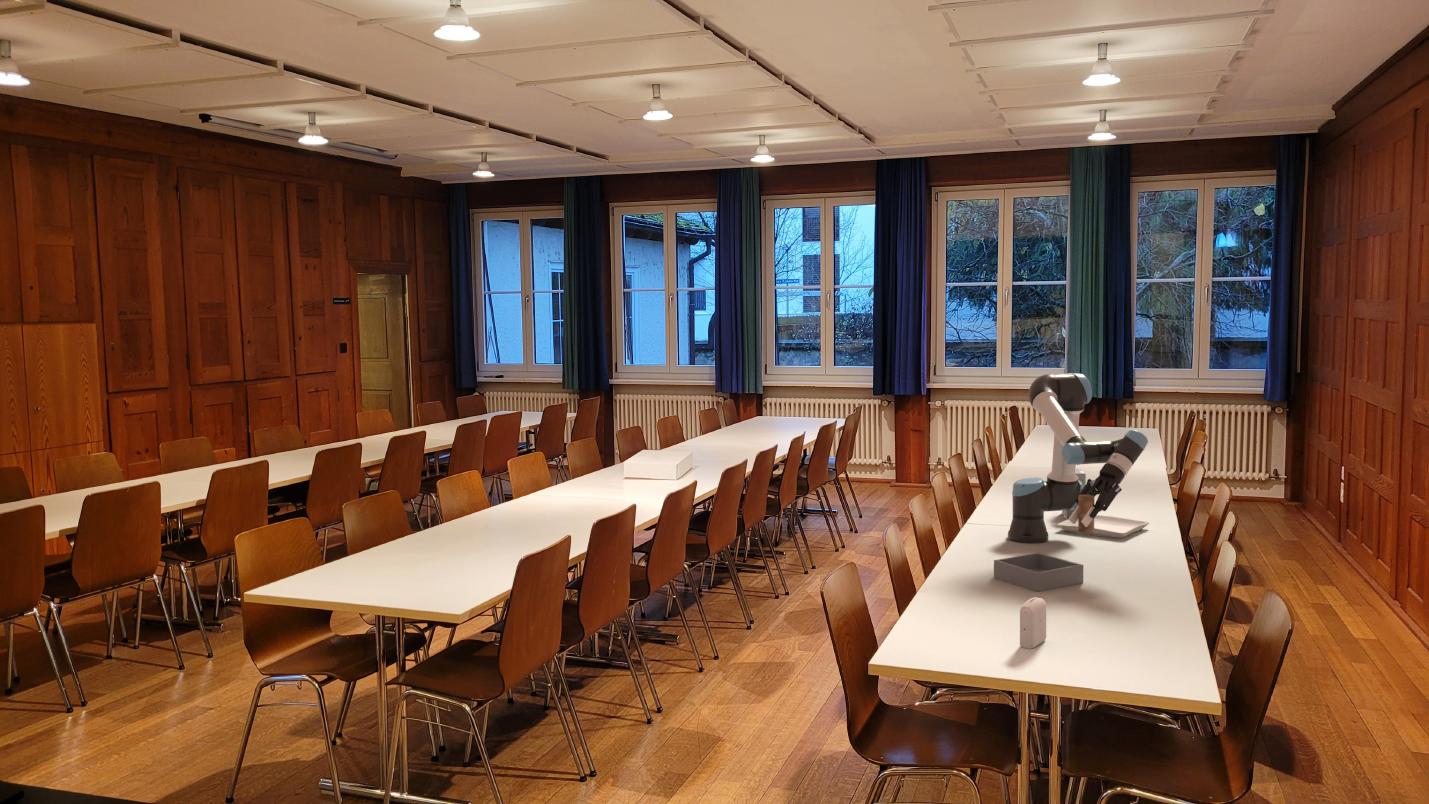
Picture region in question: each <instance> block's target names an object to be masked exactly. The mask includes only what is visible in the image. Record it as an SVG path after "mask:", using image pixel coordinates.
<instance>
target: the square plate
mask: <svg viewBox="0 0 1429 804" xmlns="http://www.w3.org/2000/svg"><path fill="white" fill-rule="evenodd" d="M1149 524H1150V522H1148V521H1144V520H1137V519H1130V518H1124V517H1118V516H1110V515H1109V516H1108V515H1102V514H1101V515H1099V514H1097V515H1096V517H1095V518H1094V532H1093V533H1083V532H1079V531H1078V520H1077V521H1076V523H1075V524H1073V523H1072V522H1071V521H1070V520H1069V519H1068V520H1066V519H1065V520H1063V521H1061V522H1059V523H1057V524H1056V526H1057V527H1059V528H1060V529H1061V530H1064V531H1066V532H1071V533H1075V534H1082V535H1089V536H1096V537H1103V538H1110V539H1120V538H1124V537H1127V536H1128V535H1131V534H1133V533H1135V532H1138V531H1140V530H1142V529H1144V528H1146V527H1147V526H1148V525H1149Z"/></svg>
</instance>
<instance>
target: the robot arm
mask: <svg viewBox="0 0 1429 804" xmlns="http://www.w3.org/2000/svg"><path fill="white" fill-rule="evenodd" d="M1092 398H1093V390H1092V386H1091V382H1090V381H1089V378H1088V377H1086V375H1084V374H1082V373H1074V372H1070V373H1057V374H1056V373H1055V374H1051V373H1048V374H1042V375H1041V376H1040V375H1039V376H1038V377H1037V378H1035V379H1034V380H1033V382H1032V383H1031V385H1030V386H1029V389H1028V400H1029V403H1030V405H1031V407H1032V408H1033V409H1034V411H1036V412H1037V413H1040V415H1041V416H1042V418H1043V419H1044V420H1045V422H1046V424H1047V425H1048V426H1049V427H1050V429H1051V431H1052V432H1053V433H1054V435H1053V449H1052V464H1051V465H1052V466H1051V472H1049V473H1048V474H1047V476H1046V480H1044V478H1041V477H1025V478H1021V479H1018V480H1016V481H1015V482H1014V483H1013V485H1012V492H1011V494H1012V520H1011V523H1010V526H1009V530H1008V531H1007V539H1008V540H1010V541H1013V542H1018V543H1027V544H1037V543H1039V544H1040V543H1045V542H1047V541H1049V532H1048V531H1047V526H1046V523H1045V517H1044V516H1045V512H1059V511H1061V512H1062V511H1068V510H1073V513H1072V514H1071V516H1070V517H1069V520H1070V521H1071V522H1072V523H1073V524H1075V523H1076V521H1077V520H1078V503H1079V495H1094V498H1095V497H1096V496H1097V495H1098V497H1097V499H1096V502H1094V505H1093V506H1094V507H1091V508H1090V509H1089V511H1088V512H1087V514H1086V515H1085V517H1084V518H1083V519H1082V521H1081V522H1082V523H1083V525H1084V526H1085V527H1087V526H1088V525H1089V523H1090V522H1091V521H1092V519H1094V518H1095V517H1096V515H1099V512H1106V511H1107V510H1108V509H1109V507H1110V506H1111V504H1112V503H1113V501H1114V500H1115V498H1116V497H1117V495H1119V493H1120V492H1121V491H1122V490H1123V489H1122V487H1121V486H1120V484H1121V483H1122V481H1123V480H1124V479H1125V477H1126V476H1127V474H1128V472H1129V471H1130V470H1131V469H1132V467H1133V466H1134V464H1135V462H1136V461H1137V460H1138V458H1139V457H1140V456H1141V455H1142V453H1143V451H1145V449H1146V447H1147V445H1148V443H1149V440H1148V437H1147V436H1146V435H1145V434H1144V433H1143V432H1141V431H1139V430H1136V429H1130V430H1128V431H1127V432H1126V433H1125V434H1124V436H1123V437H1122V438H1119V439H1117V440H1110V441H1107V440H1106V441H1087V440H1086V439H1085V437H1084V436H1083V435H1082V433H1081V432H1080V430H1079V426H1080V414H1081V413H1082V412H1084V411H1085V405H1087V404H1089V403H1090V402H1091V400H1092ZM1090 464H1103V466H1102V467H1101V469H1100V470H1099V475H1098V476H1097V477H1096V478H1095V479H1094V480H1093V479H1091V478H1088V479H1086V480H1087V481H1086V483H1085V486H1084V488H1083V484H1082V483H1081V482H1080V481H1079V477H1078V476H1077V475H1076V474H1075V469H1076V465H1077V466H1078V465H1090Z"/></svg>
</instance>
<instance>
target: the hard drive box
mask: <svg viewBox="0 0 1429 804" xmlns="http://www.w3.org/2000/svg"><path fill="white" fill-rule="evenodd" d="M1075 474H1076V475H1077V476H1078V477H1079V481H1080V482H1081V483H1082V484H1083V488H1084V486H1085V485H1086V483H1087V481H1086V480H1087V477H1086V472H1085V471H1083V470H1082V469H1081V468H1075ZM1072 513H1073V510H1068V511H1061V514H1062V515H1063V516H1064V518H1065V520H1068V519H1069V517H1070V516H1071V514H1072Z"/></svg>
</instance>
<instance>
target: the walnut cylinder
mask: <svg viewBox="0 0 1429 804" xmlns="http://www.w3.org/2000/svg"><path fill="white" fill-rule="evenodd" d="M1094 504H1095V497H1094V495H1079V503H1078V531H1079V532H1083V533H1093V532H1094V519H1092V521H1091V522H1090V523H1089V525H1088V526H1087V527H1085V526H1084V525H1083V523H1082V522H1081V521H1082V519H1083V518H1084V517H1085V515H1086V514H1087V512H1088V511H1089V509H1090V508H1091V507H1094V506H1093V505H1094ZM1094 508H1095V507H1094Z"/></svg>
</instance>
